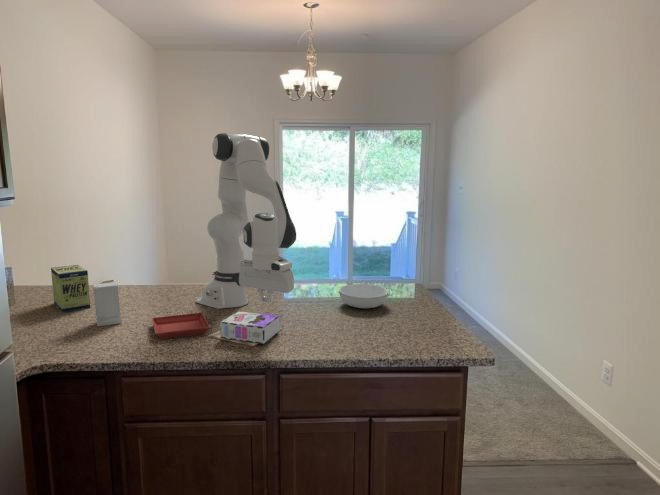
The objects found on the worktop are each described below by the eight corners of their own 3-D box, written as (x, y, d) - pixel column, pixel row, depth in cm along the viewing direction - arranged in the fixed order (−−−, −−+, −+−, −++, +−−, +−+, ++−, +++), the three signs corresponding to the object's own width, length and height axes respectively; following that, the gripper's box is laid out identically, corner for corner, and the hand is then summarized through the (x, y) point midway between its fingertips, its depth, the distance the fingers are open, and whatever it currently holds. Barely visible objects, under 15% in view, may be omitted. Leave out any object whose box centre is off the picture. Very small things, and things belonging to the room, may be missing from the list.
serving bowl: (331, 309, 195) (331, 293, 194) (348, 296, 214) (348, 281, 213) (379, 315, 188) (380, 299, 186) (392, 302, 207) (393, 287, 205)
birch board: (209, 337, 161) (209, 335, 161) (241, 321, 177) (241, 320, 177) (253, 346, 154) (253, 344, 154) (282, 329, 170) (282, 327, 170)
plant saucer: (152, 325, 172) (151, 317, 172) (202, 320, 180) (201, 311, 179) (155, 342, 156) (155, 333, 156) (210, 335, 164) (210, 326, 163)
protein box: (62, 312, 184) (59, 274, 182) (53, 303, 196) (50, 267, 193) (91, 307, 191) (88, 270, 188) (80, 299, 203) (78, 264, 200)
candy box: (264, 327, 153) (219, 321, 157) (264, 344, 154) (219, 338, 158) (280, 314, 166) (238, 310, 170) (280, 330, 167) (238, 325, 171)
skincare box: (120, 319, 178) (118, 281, 175) (121, 324, 172) (119, 284, 170) (96, 322, 174) (93, 283, 172) (96, 327, 169) (93, 287, 166)
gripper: (234, 260, 159) (235, 300, 161) (286, 267, 151) (286, 308, 153) (245, 257, 165) (246, 295, 167) (296, 263, 156) (296, 303, 159)
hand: (265, 301), depth 160 cm, fingers closed
